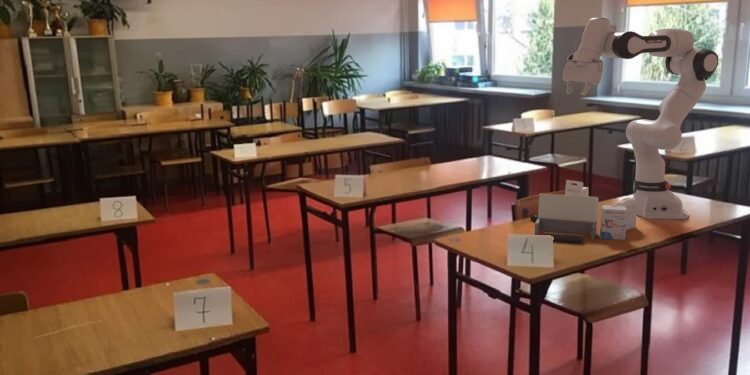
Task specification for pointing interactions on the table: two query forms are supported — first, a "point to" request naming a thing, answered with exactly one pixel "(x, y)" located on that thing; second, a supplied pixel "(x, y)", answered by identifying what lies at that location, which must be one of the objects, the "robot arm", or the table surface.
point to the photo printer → (629, 211)
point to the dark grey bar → (566, 237)
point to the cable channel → (566, 226)
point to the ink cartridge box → (575, 189)
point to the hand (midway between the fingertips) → (575, 94)
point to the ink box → (613, 222)
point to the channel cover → (568, 207)
